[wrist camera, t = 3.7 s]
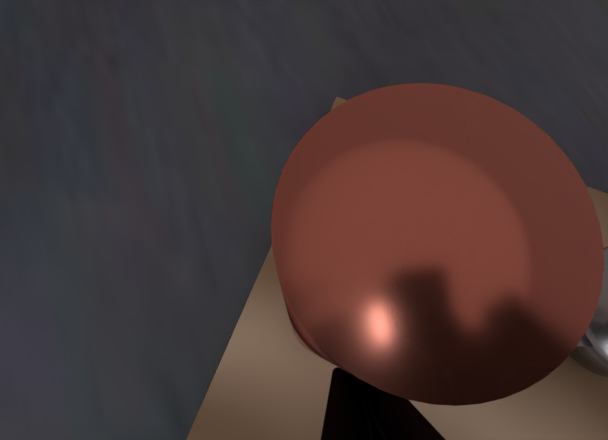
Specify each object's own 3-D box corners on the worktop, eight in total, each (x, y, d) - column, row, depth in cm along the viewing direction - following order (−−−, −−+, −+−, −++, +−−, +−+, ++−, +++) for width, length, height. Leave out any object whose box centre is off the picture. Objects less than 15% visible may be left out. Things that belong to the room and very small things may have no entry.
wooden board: (766, 723, 13) (988, 901, 9) (185, 455, 14) (141, 498, 10) (786, 276, 17) (942, 254, 13) (333, 111, 19) (344, 47, 15)
